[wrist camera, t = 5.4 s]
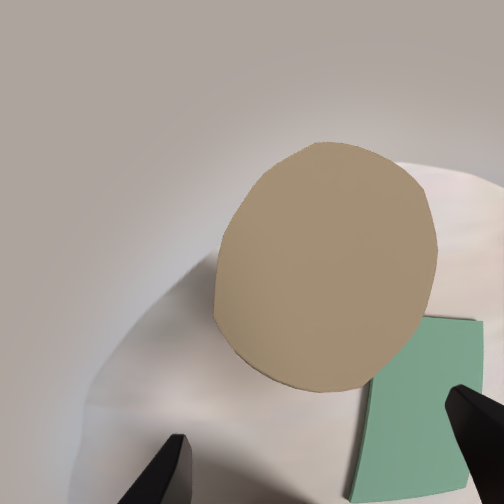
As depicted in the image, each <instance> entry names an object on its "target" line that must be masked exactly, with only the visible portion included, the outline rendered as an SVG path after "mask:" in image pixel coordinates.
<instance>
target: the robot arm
mask: <svg viewBox="0 0 504 504" xmlns="http://www.w3.org/2000/svg"><path fill="white" fill-rule="evenodd" d="M445 410H446V413H447V415H448V418H449V421H450V424H451V427H452V430H453V433H454V436H455V439H456V441H457V444H458V446H459V448H460V450H461V453H462V455H463V457H464V460H465V462H466V464H467V467H468V469H469V471H470V474H471V476H472V479H473V481H474V484H475V486H476V489H477V491H478V494H479V496H480V499H481V502H482V504H504V405H502V404H500V403H498V402H496V401H494V400H492V399H490V398H488V397H486V396H484V395H482V394H480V393H479V392H477V391H475V390H473V389H471V388H469V387H467V386H465V385H463V384H458V385H456V386H453V387H452V388H451V389H450V391H449V394H448V396H447V398H446V401H445ZM191 498H192V449H191V446H190V444H189V442H188V439H187V437H186V435H184V434H172V435H171V436H170V437H169V439H168V440H167V441H166V442H165V444H164V445H163V446H162V448H161V449H160V450H159V452H158V453H157V454H156V456H155V457H154V458H153V459H152V461H151V462H150V463H149V465H148V466H147V467H146V468H145V470H144V471H143V472H142V473H141V475H140V476H139V477H138V478H137V480H136V481H135V482H134V483H133V485H132V486H131V487H130V488H129V490H128V491H127V492H126V493H125V495H124V496H123V497H122V498H121V500H120V501H119V502H118V503H117V504H191Z"/></svg>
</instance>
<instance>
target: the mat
mask: <svg viewBox="0 0 504 504" xmlns="http://www.w3.org/2000/svg"><path fill="white" fill-rule="evenodd" d="M482 381H483V321H471V320H457V319H444V318H432V317H422V320H421V322H420V325H419V326H418V328H417V329H416V331H415V332H414V334H413V335H412V337H411V338H410V339H409V341H408V342H407V343H406V344H405V346H404V347H403V348H402V349H401V350H400V351H399V352H398V353H397V354H396V355H395V356H394V357H393V358H392V359H391V360H390V361H389V362H388V363H387V364H386V365H385V366H384V367H383V368H382V369H381V370H380V371H379V372H378V373H377V374H376V375H375V376H374V377H372V378H371V381H370V389H369V397H368V404H367V411H366V418H365V424H364V430H363V436H362V441H361V447H360V452H359V457H358V462H357V466H356V471H355V475H354V480H353V484H352V488H351V492H350V496H349V500H348V501H349V502H350V503H368V502H382V501H393V500H401V499H409V498H416V497H422V496H428V495H434V494H439V493H444V492H449V491H453V490H457V489H461V488H465V487H466V484H467V480H468V476H469V472H470V471H469V469H468V467H467V464H466V462H465V460H464V457H463V455H462V453H461V450H460V448H459V446H458V444H457V441H456V439H455V436H454V433H453V430H452V427H451V424H450V421H449V418H448V415H447V413H446V410H445V401H446V398H447V396H448V394H449V391H450V389H451V388H452V387H453V386H456V385H458V384H463V385H465V386H467V387H469V388H471V389H473V390H475V391H477V392H479V393H480V394H482Z"/></svg>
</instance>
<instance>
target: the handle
mask: <svg viewBox="0 0 504 504" xmlns="http://www.w3.org/2000/svg"><path fill="white" fill-rule="evenodd" d="M437 255H438V247H437V239H436V232H435V228H434V223H433V220H432V216H431V212H430V209H429V205H428V202H427V199H426V196H425V192H424V189H423V188H422V187H421V186H420V185H419V184H418V183H417V181H416V180H415V179H414V178H413V177H412V176H411V175H409V174H408V173H407V172H406V171H405V170H404V169H402V168H401V167H399V166H398V165H396V164H395V163H393V162H392V161H390V160H388V159H386V158H384V157H382V156H380V155H378V154H376V153H374V152H371V151H369V150H366V149H363V148H360V147H357V146H352V145H348V144H343V143H333V142H323V143H314V144H312V145H310V146H308V147H306V148H304V149H302V150H301V151H299V152H297V153H295V154H293V155H291V156H290V157H288V158H286V159H284V160H283V161H281V162H279V163H277V164H276V165H275V166H273V167H272V168H271V169H269V170H268V171H267V172H266V173H264V174H263V176H262V177H261V178H260V179H259V180H258V181H257V182H256V184H255V185H254V186H253V187H252V189H251V190H250V192H249V193H248V195H247V196H246V198H245V199H244V201H243V202H242V204H241V205H240V207H239V208H238V210H237V211H236V213H235V214H234V216H233V218H232V220H231V221H230V224H229V225H228V227H227V229H226V231H225V233H224V235H223V239H222V243H221V247H220V251H219V255H218V264H217V273H216V282H215V295H214V309H213V318H214V319H215V321H216V323H217V325H218V327H219V329H220V331H221V333H222V334H223V336H224V337H225V339H226V340H227V341H228V343H229V344H230V346H231V347H232V348H233V350H234V351H235V352H236V354H237V355H239V356H240V357H241V358H242V359H243V360H244V361H245V362H246V363H248V364H249V365H250V366H251V367H252V368H254V369H255V370H257V371H258V372H260V373H262V374H263V375H265V376H267V377H268V378H270V379H272V380H274V381H276V382H279V383H282V384H284V385H287V386H289V387H292V388H295V389H300V390H306V391H311V392H318V393H323V392H341V391H347V390H352V389H357V388H361V387H362V386H364V385H365V384H366V383H367V382H368V381H369V380H370V379H371V378H372V377H374V376H375V375H376V374H377V373H378V372H379V371H380V370H381V369H382V368H383V367H384V366H385V365H386V364H387V363H388V362H389V361H390V360H391V359H392V358H393V357H394V356H395V355H396V354H397V353H398V352H399V351H400V350H401V349H402V348H403V347H404V346H405V344H406V343H407V342H408V341H409V339H410V338H411V337H412V335H413V334H414V332H415V331H416V329H417V328H418V326H419V325H420V322H421V320H422V317H423V315H424V312H425V310H426V307H427V304H428V300H429V296H430V292H431V288H432V284H433V280H434V275H435V271H436V264H437Z"/></svg>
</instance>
